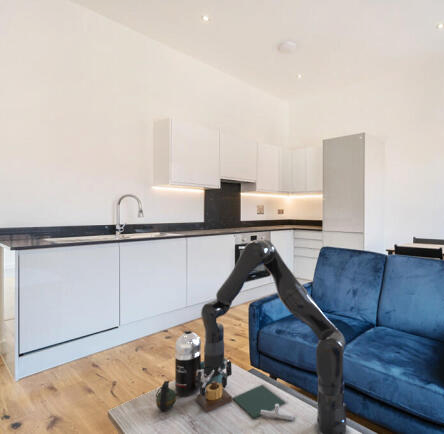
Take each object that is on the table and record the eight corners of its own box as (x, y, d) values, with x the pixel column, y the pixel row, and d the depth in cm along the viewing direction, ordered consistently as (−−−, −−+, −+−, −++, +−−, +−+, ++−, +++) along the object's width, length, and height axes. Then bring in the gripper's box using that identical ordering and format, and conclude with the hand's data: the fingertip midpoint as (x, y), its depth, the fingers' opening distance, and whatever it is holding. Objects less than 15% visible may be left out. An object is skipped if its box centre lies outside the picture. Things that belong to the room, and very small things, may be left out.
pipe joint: (260, 415, 112) (260, 403, 112) (261, 412, 114) (262, 400, 114) (291, 421, 110) (292, 409, 110) (292, 418, 111) (293, 406, 111)
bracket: (198, 382, 134) (198, 362, 134) (214, 372, 142) (214, 353, 142) (212, 388, 130) (212, 367, 130) (228, 378, 138) (228, 358, 137)
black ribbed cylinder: (191, 398, 122) (192, 336, 122) (169, 395, 124) (169, 334, 124) (205, 384, 132) (206, 327, 132) (184, 381, 134) (184, 325, 134)
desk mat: (284, 403, 120) (284, 402, 120) (254, 419, 111) (254, 418, 111) (262, 385, 132) (262, 384, 132) (232, 398, 123) (232, 397, 123)
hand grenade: (159, 403, 119) (159, 378, 119) (178, 402, 120) (178, 376, 120) (152, 417, 111) (152, 389, 111) (172, 415, 112) (172, 388, 112)
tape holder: (231, 401, 121) (231, 382, 121) (207, 412, 114) (207, 392, 114) (220, 390, 128) (220, 372, 128) (196, 399, 122) (196, 381, 122)
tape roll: (224, 395, 121) (224, 387, 121) (210, 402, 117) (210, 393, 117) (217, 389, 126) (217, 380, 126) (203, 395, 122) (203, 386, 122)
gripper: (200, 359, 114) (199, 403, 114) (235, 348, 123) (234, 388, 123) (192, 352, 119) (192, 394, 119) (226, 342, 129) (225, 380, 129)
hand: (213, 391), depth 121 cm, fingers open, 8 cm apart
